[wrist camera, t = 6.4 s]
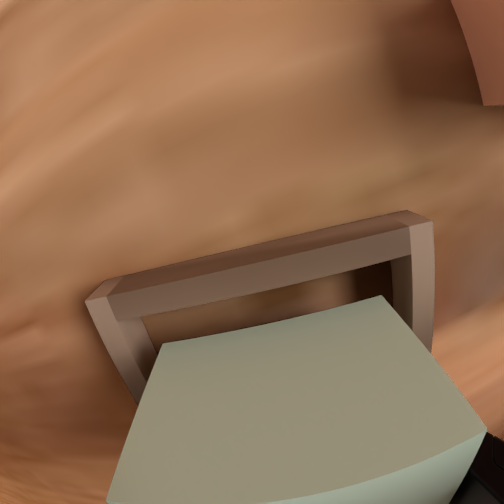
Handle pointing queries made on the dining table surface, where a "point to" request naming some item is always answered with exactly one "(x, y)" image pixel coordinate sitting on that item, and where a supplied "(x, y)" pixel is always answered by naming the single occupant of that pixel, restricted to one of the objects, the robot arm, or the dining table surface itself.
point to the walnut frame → (267, 282)
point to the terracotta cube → (485, 44)
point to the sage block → (300, 417)
